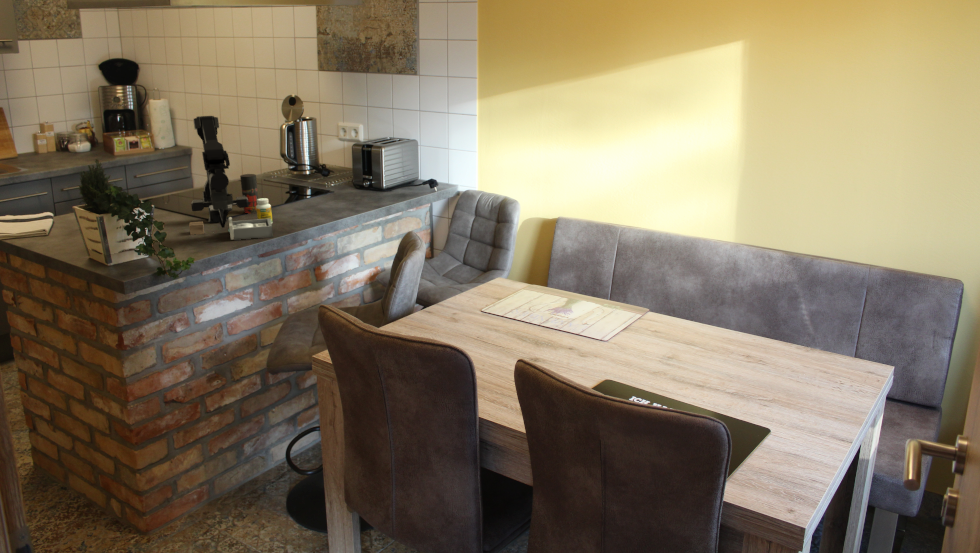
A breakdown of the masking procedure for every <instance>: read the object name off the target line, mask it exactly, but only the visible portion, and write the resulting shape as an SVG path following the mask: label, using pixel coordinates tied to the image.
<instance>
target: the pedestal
mask: <svg viewBox="0 0 980 553" xmlns="http://www.w3.org/2000/svg"><path fill="white" fill-rule="evenodd" d="M188 227H189V233H190V236H195V235H194V234H196V235H204V234H205V227H204V221H193V222H189V225H188Z"/></svg>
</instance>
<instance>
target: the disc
mask: <svg viewBox="0 0 980 553" xmlns="http://www.w3.org/2000/svg"><path fill="white" fill-rule="evenodd" d="M249 227H253V224H251V223H241V224H237V225H235V228H236V229H237V228H249Z"/></svg>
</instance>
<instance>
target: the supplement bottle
mask: <svg viewBox="0 0 980 553" xmlns="http://www.w3.org/2000/svg"><path fill="white" fill-rule="evenodd" d="M257 203H258V205H257V206H256V210H257V213H256V217H257V219H268V218H270V221H271V224H272V225H273V223H274V222H273V214H272V212H273V211H272V205H271V204H270V203H269V198H266V197H264V198H263V197H262V198H258V199H257Z"/></svg>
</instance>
